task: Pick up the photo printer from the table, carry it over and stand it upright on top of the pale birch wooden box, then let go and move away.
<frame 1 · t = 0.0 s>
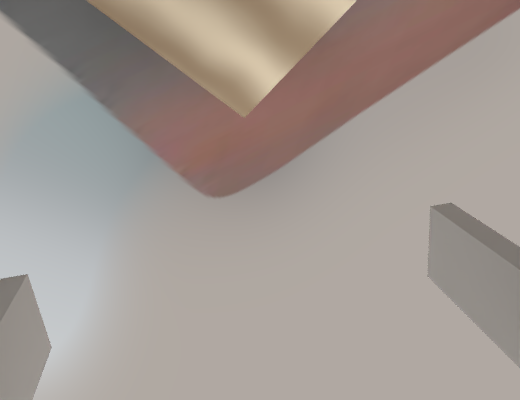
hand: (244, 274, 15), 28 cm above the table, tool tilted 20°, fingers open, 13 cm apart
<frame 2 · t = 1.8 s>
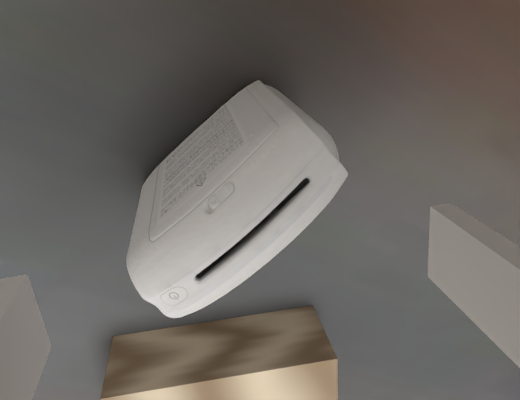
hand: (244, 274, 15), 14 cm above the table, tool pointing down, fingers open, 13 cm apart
birch box: (224, 394, 35), on the table
photo printer: (217, 151, 28), on the table
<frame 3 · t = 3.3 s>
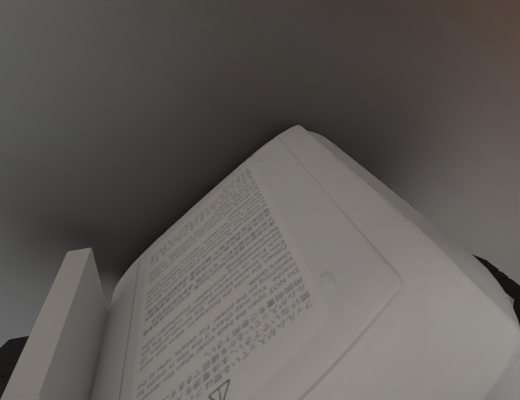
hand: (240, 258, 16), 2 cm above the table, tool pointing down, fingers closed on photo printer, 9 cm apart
photo printer: (231, 231, 18), on the table, touching gripper
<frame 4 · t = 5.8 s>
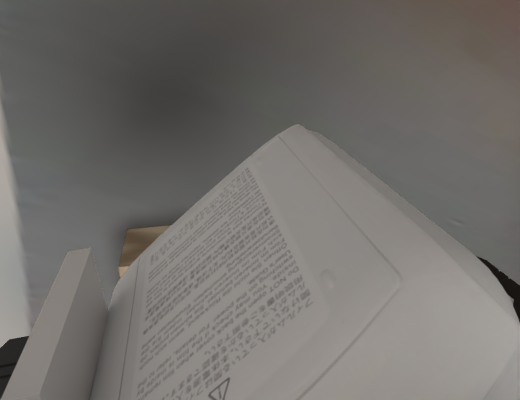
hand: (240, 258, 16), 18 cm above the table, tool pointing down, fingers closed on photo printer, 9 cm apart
birch box: (225, 296, 38), on the table
photo printer: (231, 230, 18), point 16 cm above the table, touching gripper
when the fingers open (10 cm above the table, at t = 8.6 s): photo printer drops 2 cm, resting on birch box.
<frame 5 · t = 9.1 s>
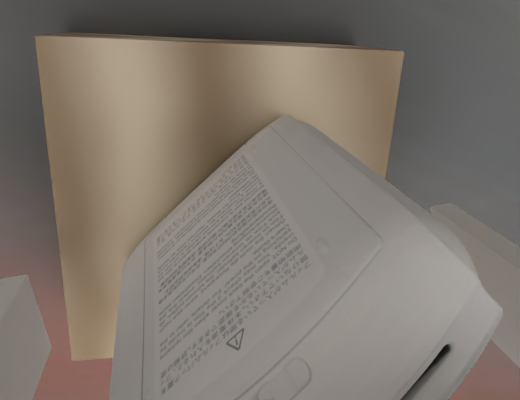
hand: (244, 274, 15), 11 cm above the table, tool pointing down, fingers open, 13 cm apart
birch box: (216, 173, 26), on the table, touching photo printer
photo printer: (228, 213, 20), point 5 cm above the table, touching birch box
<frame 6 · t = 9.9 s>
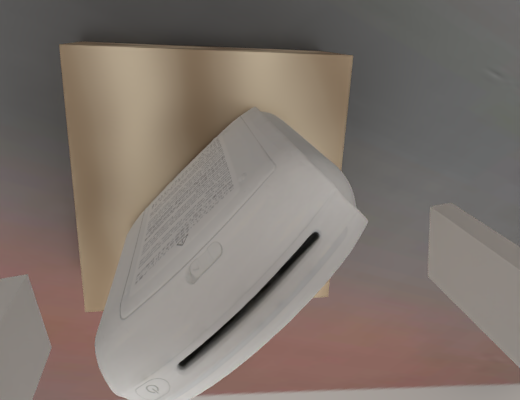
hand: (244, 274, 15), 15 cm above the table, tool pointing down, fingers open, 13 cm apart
birch box: (205, 159, 30), on the table, touching photo printer
photo printer: (212, 190, 25), point 5 cm above the table, touching birch box
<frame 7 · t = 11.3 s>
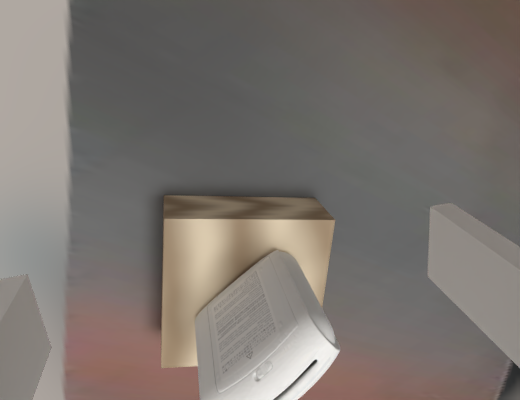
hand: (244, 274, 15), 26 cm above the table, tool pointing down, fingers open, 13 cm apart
birch box: (236, 263, 45), on the table, touching photo printer
photo printer: (247, 293, 40), point 5 cm above the table, touching birch box
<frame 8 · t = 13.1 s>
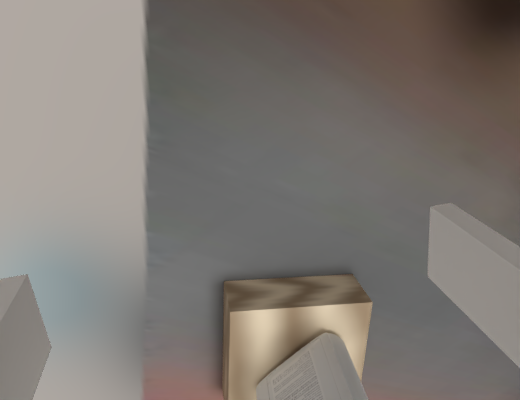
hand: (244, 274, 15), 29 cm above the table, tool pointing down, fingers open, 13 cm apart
birch box: (284, 330, 52), on the table, touching photo printer
photo printer: (300, 366, 47), point 6 cm above the table, touching birch box
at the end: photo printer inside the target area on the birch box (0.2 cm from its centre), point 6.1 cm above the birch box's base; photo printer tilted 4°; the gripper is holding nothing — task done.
